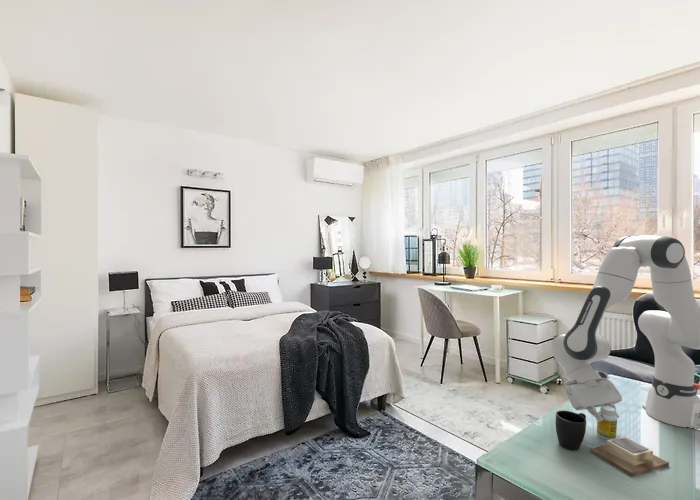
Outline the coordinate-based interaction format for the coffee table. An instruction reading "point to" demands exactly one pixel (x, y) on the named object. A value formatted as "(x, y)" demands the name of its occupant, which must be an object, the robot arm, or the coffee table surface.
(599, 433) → the supplement bottle
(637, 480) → the coffee table surface
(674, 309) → the robot arm
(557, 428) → the mug
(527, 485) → the coffee table surface
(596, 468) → the coffee table surface
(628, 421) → the coffee table surface
